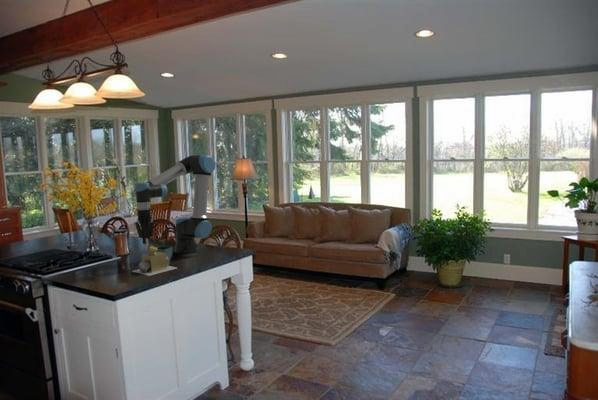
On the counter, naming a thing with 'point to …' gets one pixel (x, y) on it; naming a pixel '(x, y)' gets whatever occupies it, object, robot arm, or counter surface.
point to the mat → (156, 271)
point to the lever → (152, 248)
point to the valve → (154, 262)
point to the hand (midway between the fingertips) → (146, 249)
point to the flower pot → (166, 250)
